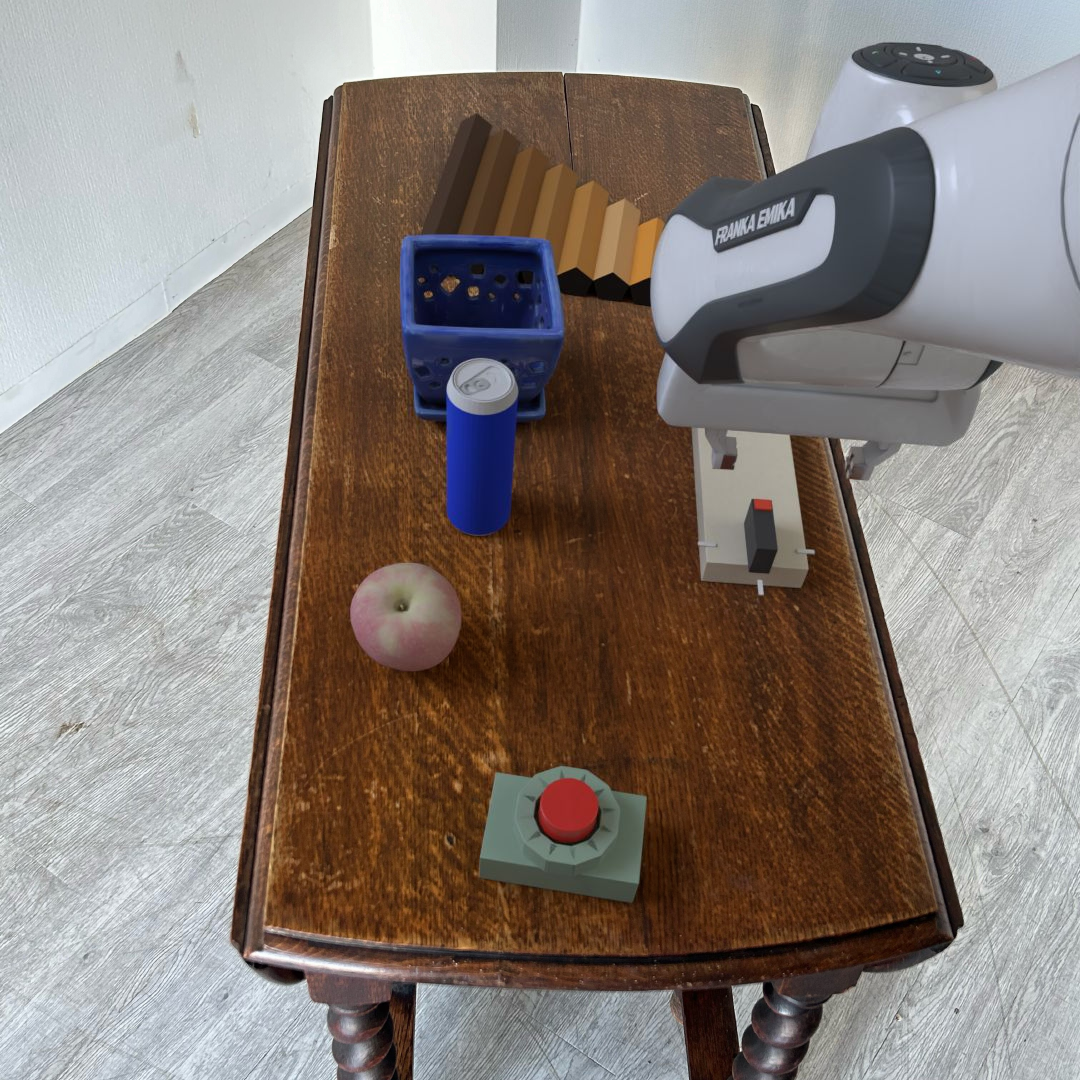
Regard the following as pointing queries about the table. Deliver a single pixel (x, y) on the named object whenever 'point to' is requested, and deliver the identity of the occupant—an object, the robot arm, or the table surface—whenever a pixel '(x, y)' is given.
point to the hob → (727, 501)
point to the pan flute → (543, 214)
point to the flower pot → (479, 315)
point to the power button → (568, 810)
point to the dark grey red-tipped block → (760, 536)
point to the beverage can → (480, 445)
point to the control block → (543, 862)
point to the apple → (406, 616)
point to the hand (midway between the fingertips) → (788, 468)
